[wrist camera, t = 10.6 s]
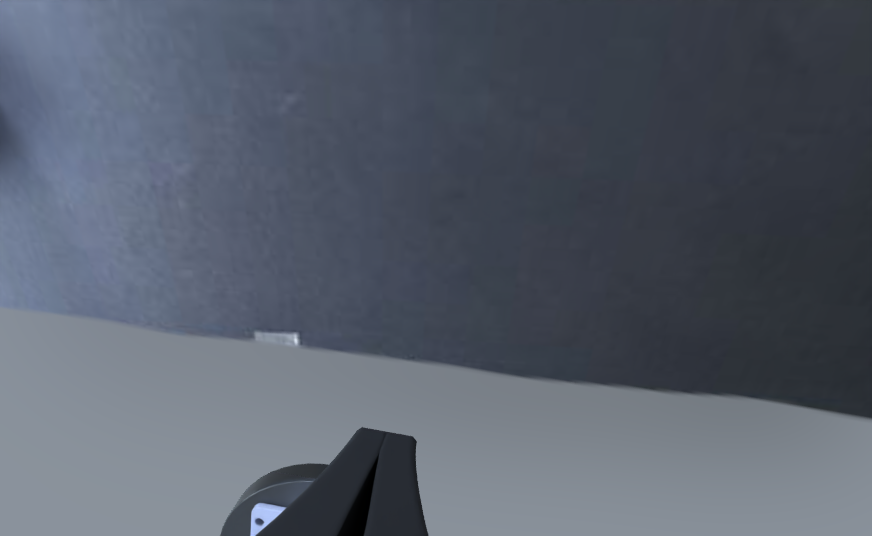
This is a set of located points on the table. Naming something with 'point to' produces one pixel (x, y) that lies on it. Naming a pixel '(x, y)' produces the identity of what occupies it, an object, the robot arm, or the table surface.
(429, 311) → the table surface
